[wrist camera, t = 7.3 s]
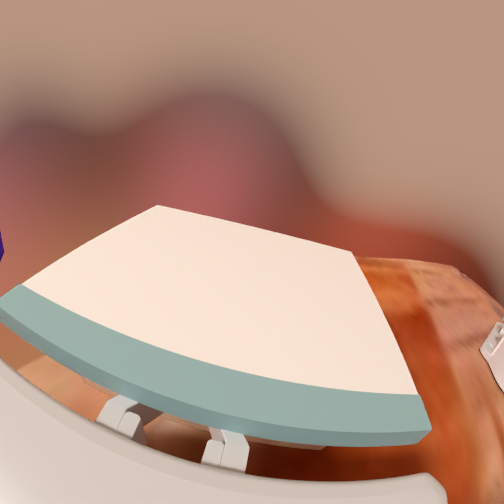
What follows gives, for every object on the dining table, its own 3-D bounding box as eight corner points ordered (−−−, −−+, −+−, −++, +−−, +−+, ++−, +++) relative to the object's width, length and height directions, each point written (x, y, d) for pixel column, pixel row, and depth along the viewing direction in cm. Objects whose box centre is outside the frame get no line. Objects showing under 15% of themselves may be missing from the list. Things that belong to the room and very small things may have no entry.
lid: (156, 215, 26) (157, 204, 25) (348, 262, 25) (351, 251, 24) (-1, 321, 8) (-7, 302, 8) (416, 443, 7) (432, 429, 7)
